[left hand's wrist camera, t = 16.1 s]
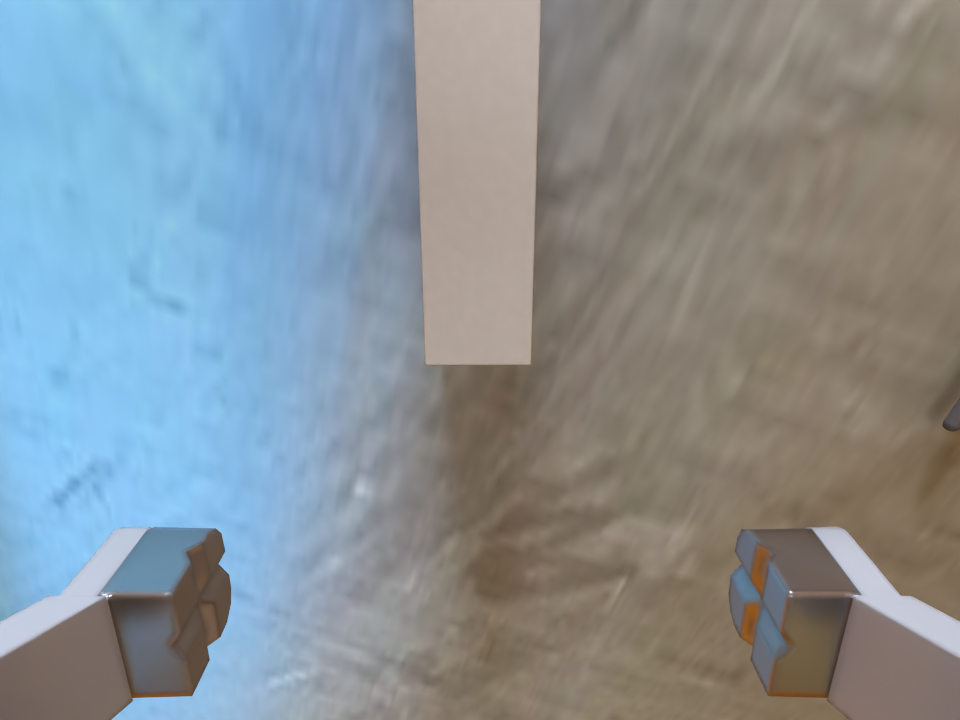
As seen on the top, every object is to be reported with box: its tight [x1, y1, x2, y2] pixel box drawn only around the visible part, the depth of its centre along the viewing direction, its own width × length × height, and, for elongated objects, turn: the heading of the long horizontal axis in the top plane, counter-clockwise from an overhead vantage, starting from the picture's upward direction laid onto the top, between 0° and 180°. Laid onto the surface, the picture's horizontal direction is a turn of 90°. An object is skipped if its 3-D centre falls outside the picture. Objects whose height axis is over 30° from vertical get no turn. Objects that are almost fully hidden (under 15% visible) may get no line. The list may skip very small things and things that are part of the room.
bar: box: [413, 0, 541, 365], centre depth 29 cm, size 27×4×10 cm, turn 0°
